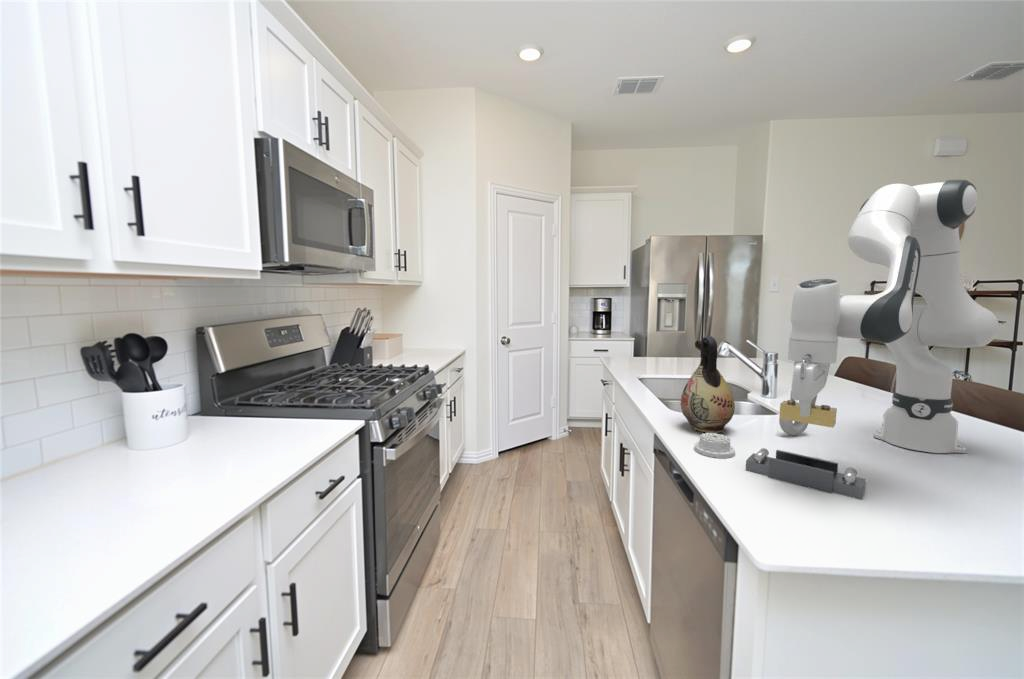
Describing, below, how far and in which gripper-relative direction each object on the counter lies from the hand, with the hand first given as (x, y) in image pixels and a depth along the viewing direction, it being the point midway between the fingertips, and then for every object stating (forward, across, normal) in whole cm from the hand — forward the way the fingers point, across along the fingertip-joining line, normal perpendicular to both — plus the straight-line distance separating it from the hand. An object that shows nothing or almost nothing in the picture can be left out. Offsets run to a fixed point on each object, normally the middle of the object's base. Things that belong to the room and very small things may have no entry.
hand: (807, 413), depth 96 cm
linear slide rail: (+16, 0, 0) cm, 16 cm away
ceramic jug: (+16, +22, +29) cm, 40 cm away
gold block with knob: (+2, 0, 0) cm, 2 cm away
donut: (+16, +34, +8) cm, 38 cm away
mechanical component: (+16, +5, +21) cm, 27 cm away
